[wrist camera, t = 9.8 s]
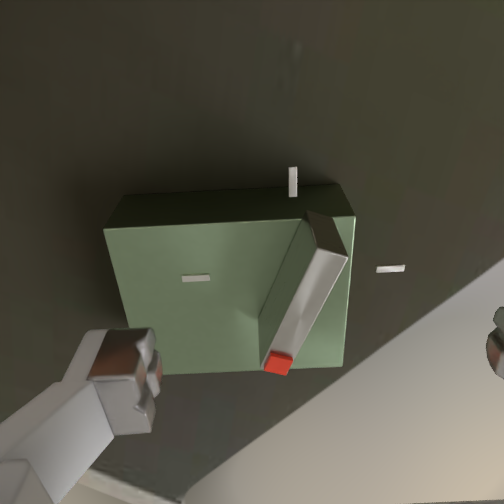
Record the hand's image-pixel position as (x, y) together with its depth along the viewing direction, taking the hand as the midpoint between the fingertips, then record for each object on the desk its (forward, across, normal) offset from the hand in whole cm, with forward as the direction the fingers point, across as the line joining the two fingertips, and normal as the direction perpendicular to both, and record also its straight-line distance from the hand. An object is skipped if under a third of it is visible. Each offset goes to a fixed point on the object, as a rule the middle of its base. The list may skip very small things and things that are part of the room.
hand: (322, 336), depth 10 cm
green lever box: (+14, +2, +6) cm, 15 cm away
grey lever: (+10, 0, +5) cm, 11 cm away
